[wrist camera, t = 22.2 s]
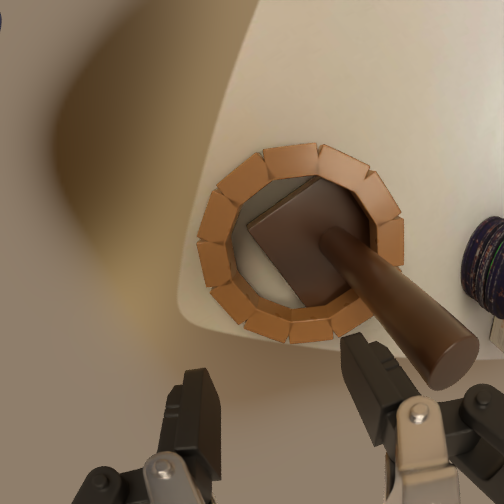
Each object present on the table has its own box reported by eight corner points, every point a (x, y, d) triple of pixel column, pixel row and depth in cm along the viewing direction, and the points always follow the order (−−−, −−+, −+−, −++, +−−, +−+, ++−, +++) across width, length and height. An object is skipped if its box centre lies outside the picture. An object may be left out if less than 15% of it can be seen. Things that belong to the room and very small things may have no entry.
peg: (246, 225, 21) (279, 376, 7) (344, 155, 20) (519, 181, 6) (310, 309, 24) (382, 467, 10) (394, 247, 23) (528, 349, 8)
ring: (170, 228, 22) (159, 235, 20) (320, 106, 18) (324, 101, 16) (282, 355, 24) (281, 370, 22) (423, 263, 20) (433, 272, 18)
